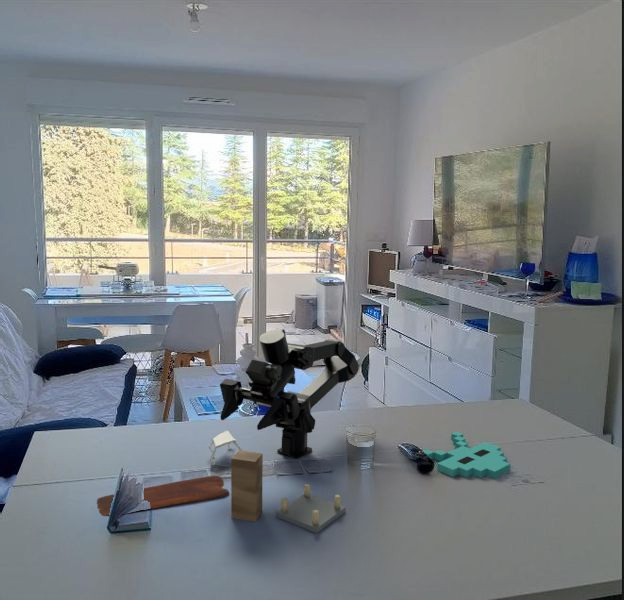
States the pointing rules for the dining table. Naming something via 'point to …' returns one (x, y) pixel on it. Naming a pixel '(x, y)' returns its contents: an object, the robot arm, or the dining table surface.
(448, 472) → the alien figure
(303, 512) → the peg plate
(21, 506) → the dining table surface
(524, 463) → the dining table surface
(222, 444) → the white gabled frame
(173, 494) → the wooden tablet
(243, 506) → the walnut shelf block
